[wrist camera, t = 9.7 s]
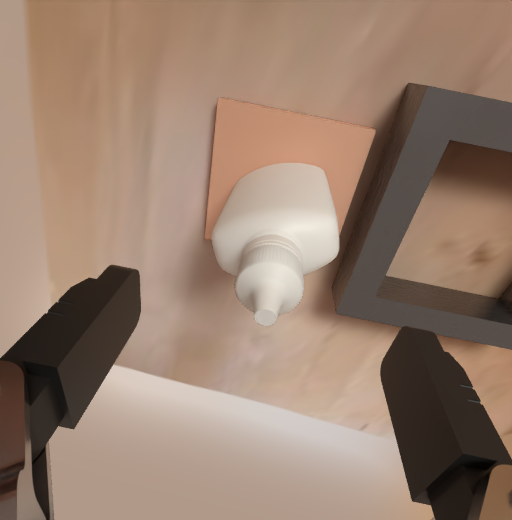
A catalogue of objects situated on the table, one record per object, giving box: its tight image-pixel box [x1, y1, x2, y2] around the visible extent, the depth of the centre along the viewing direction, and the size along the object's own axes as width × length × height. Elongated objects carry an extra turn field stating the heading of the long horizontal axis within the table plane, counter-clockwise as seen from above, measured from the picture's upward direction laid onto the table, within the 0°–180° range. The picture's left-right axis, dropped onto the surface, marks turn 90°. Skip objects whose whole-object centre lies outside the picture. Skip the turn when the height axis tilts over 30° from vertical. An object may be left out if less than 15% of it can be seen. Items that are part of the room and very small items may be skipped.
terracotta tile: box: [205, 97, 376, 264], centre depth 20 cm, size 9×9×1 cm
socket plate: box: [332, 83, 512, 350], centre depth 19 cm, size 14×14×3 cm
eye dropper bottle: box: [212, 163, 339, 326], centre depth 15 cm, size 4×6×12 cm
